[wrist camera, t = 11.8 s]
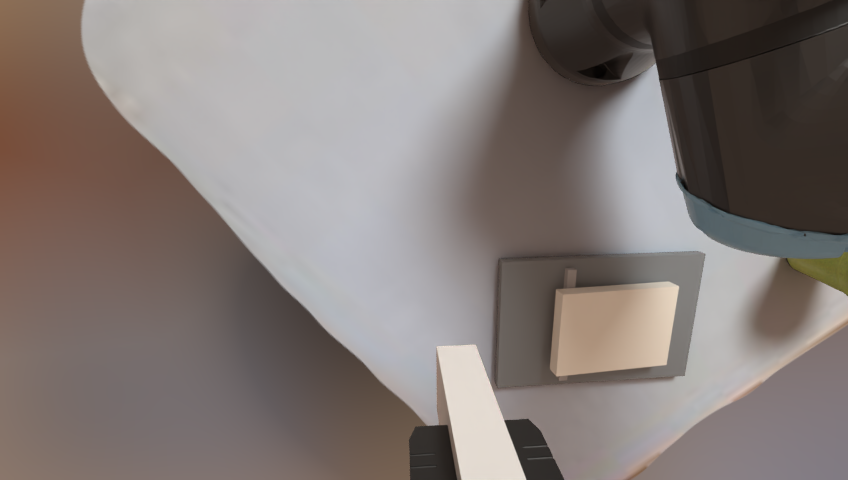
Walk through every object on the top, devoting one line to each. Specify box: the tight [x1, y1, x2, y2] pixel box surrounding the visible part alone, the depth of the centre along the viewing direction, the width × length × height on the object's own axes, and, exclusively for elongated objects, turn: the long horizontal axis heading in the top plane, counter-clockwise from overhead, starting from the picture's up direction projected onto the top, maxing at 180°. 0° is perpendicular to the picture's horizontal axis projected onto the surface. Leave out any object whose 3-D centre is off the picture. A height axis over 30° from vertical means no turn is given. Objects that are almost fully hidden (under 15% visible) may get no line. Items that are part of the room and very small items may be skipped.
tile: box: [550, 281, 679, 377], centre depth 46 cm, size 2×10×14 cm
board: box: [495, 251, 705, 388], centre depth 47 cm, size 24×16×2 cm, turn 91°
